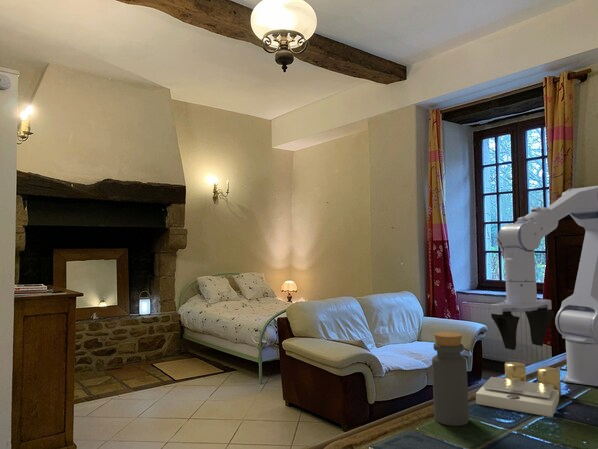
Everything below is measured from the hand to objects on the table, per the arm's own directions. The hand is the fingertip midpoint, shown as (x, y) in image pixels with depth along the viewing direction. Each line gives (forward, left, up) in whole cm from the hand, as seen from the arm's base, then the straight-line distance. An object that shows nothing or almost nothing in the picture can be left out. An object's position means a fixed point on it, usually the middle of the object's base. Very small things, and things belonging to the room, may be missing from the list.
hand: (524, 346), depth 93 cm
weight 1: (-3, -3, -10) cm, 10 cm away
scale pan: (+5, -1, -7) cm, 9 cm away
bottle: (+22, -9, -10) cm, 25 cm away
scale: (+7, -1, -10) cm, 11 cm away
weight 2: (-2, +4, -10) cm, 10 cm away
